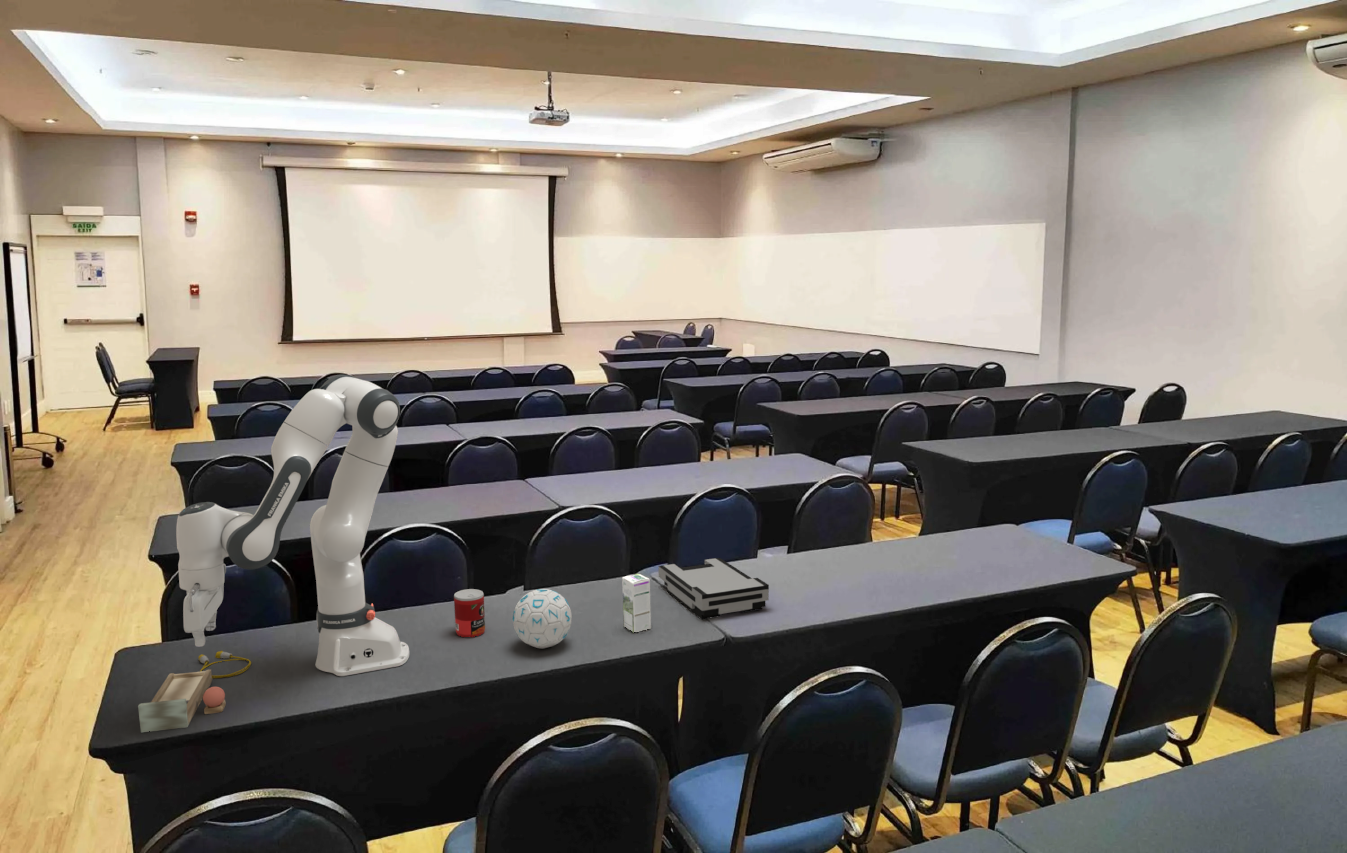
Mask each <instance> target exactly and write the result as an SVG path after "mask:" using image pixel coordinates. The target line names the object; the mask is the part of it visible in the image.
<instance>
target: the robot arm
mask: <svg viewBox="0 0 1347 853" xmlns="http://www.w3.org/2000/svg"><path fill="white" fill-rule="evenodd" d="M400 406H401V405H400V402H399V400H398V398H397V397H396V396H395V395H394V394H393V393H392V392H390V391H389V390H388V389H384V388H382V387H381V386H379V385H377V384H375V383H373V382H371V381H370V380H369V381H368V380H364V379H361V378H357V377H355V376H354V375H353V376H352V375H350V374H349V375H348V374H337V375H333V376H331V377H330V378H328V379H327V380H326V381H325V382H324V383H322V385H321V386H320V387H319V388H314V389H311V390H309V391H308V392H307V393H306V394H305V395H304V396H303V397H302V398H301V399H300V400H299V401H298V402H297V404H295V405H294V407H293V408H292V409H291V411H290V412H289V414H288V415H287V417H286V418H285V420H284V421H283V423H282V424H281V426H280V427H279V428H278V431H277V432H276V435H275V437H274V440H273V442H272V445H271V448H270V452H271V458H272V463H273V478H272V481H271V483H270V486H269V488H268V489H267V491H266V493H265V495H264V497H263V498H262V501H261V502H260V504H259V506H258V508H256V511H255V513H254V514H252V513H250V512H247V511H237V510H232V509H228V508H225V507H222V506H220V505H219V504H217V503H215V502H212V501H211V502H210V501H206V502H198V503H197V502H196V503H195V504H190V505H188V506H187V507H185V508H183V509H182V510H181V511H180V512H179V513H178V515H177V519H176V528H175V529H176V530H175V531H176V534H175V535H176V536H175V537H176V549H177V551H178V554H179V560H178V564H177V566H178V580H179V584H178V585H179V588H180V589H181V590H183V591H186V596H185V597H184V599H183V610H182V612H183V614H182V615H183V616H182V618H183V630H184V632H185V633H187V634H190V633H191V634H192V636H193V639H194V645H195V647H204V646H205V644H206V636H205V631H207V632H208V631H209V632H210V631H214V630H215V629H216V628H217V625H216V622H217V621H216V619H217V614H218V611H217V610H218V608H219V607H220V606H221V604H222V602H223V600H224V587H225V586H224V583H225V574H226V573H227V566H226V564H225V563H224V559H225V558H228V557H229V559H230V560H231V562H232V563H233V564H234V565H235V566H237V567H238V568H241V569H245V570H257V569H261V568H263V567H265V566H267V565H268V564H269V563H271V562H273V560H274V558H276V555H277V554H278V551H279V548H280V543H281V537H282V536H281V535H282V530H283V528H284V526H285V524H286V522H287V520H288V518H289V516H290V515H291V513H292V511H293V509H294V507H295V505H296V503H297V501H298V500H299V498H300V496H301V494H302V492H303V490H304V488H305V486H306V484H307V482H308V480H309V478H310V477H311V475H312V473H313V472H314V469H315V468H316V467H317V464H318V463H319V462H320V460H321V459H322V457H323V456H324V454H325V452H326V450H327V449H328V448H329V445H330V444H331V443H332V441H333V438H334V437H335V434H336V433H337V431H338V430H339V429H340V428H341V427H342V426H344V425H346V424H347V425H350V426H352V432H351V433H352V434H351V436H350V438H349V440H348V442H347V444H346V446H345V449H344V451H343V453H342V457H341V459H340V461H339V464H338V466H337V468H336V471H335V473H334V476H333V479H332V481H331V485H330V491H329V494H328V498H327V501H326V504H325V505H324V504H323V505H322V506H320V507H319V508H317V509H316V511H315V512H314V513H313V515H312V517H311V519H310V523H309V533H310V534H309V535H310V542H311V550H312V558H313V566H314V575H315V580H316V581H315V582H316V595H317V597H316V598H317V605H318V606H317V610H316V615H315V616H316V627H317V631H318V633H319V635H318V646H317V647H318V649H317V653H316V654H317V656H316V659H315V660H316V661H315V663H314V664H315V665H314V666H315V668H316V669H317V670H320V671H322V672H327V673H331V674H334V675H336V676H337V677H346V676H351V675H356V674H361V673H368V672H373V671H379V670H384V669H385V670H386V669H389V668H390V669H391V668H395V667H399V666H402V665H404V664H405V663H406V662H407V661H408V660H409V658H410V647H409V645H408V643H406V642H404V641H401V640H400V637H399V634H398V631H397V630H396V628H395V627H394V626H393V625H390V624H388V623H387V622H385V621H383V620H381V619H379V618H377V617H376V611H375V606H374V604H373V603H371V604H369V603H367V602H366V594H365V580H364V579H365V578H364V571H363V570H364V569H363V565H362V559H361V553H362V550H363V548H364V546H365V543H366V542H365V541H366V536H367V533H368V529H369V526H370V522H371V521H372V520H371V519H372V515H373V513H374V508H375V503H376V500H377V497H378V494H379V491H380V488H381V486H382V484H383V482H384V479H385V477H386V473H387V471H388V469H389V466H390V464H391V461H392V459H393V455H394V452H395V449H396V445H397V439H398V435H399V429H398V426H397V424H398V422H399V421H398V420H399V419H400V414H401V407H400Z"/></svg>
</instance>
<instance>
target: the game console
mask: <svg viewBox="0 0 1347 853" xmlns="http://www.w3.org/2000/svg"><path fill="white" fill-rule="evenodd" d="M657 568H658V570H657V571H658V578H660V579H661V580H662V581H664V586H666V587H667V593H669V594H670V595H671V596H673V597H674V598H675V600H677V601H678V602H679V603H681V605H683V606H684V607H685V608H687V609H688V610H689V611H691V612H692V613H693V614H694V613H695V615H696V616H697V617H698V618H699V617H700V618H699V619H701V620H704V619H705V618H706V619H711V618H710V617H712V618H718V617H722V614H727V613H734V612H743V613H747V612H753V611H759V610H761V611H762V610H763V608H764V607H766V601H769V596H770V595H769V591H770V590H769V588H770V587H769V586H770V585H769V583H767V582H765V581H763V580H761V578H759V577H753V578H752V577H750V576H749V575H748V574H746V573H744V572H743V571H741V570H740V569H738V568H736V567H735V566H734V565H732V564H730V563H729V562H727V561H725V560H724V559H722V558H721V557H715V558H709V559H704V564H698V565H691V566H682V567H679V566H678V565H676V564H675V563H672V564H665V565H658V567H657ZM717 616H718V617H717ZM706 619H705V620H706Z"/></svg>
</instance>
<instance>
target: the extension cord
mask: <svg viewBox="0 0 1347 853" xmlns="http://www.w3.org/2000/svg"><path fill="white" fill-rule="evenodd" d="M208 657H209V656H207V655H205V654H200V655H198V661H199V662H200V663H202V664H203V666H202V668H201V669H200V670H199V672H201V671H202V670H203V671H204V670H205V669H206V668H207V667H209V666H212V665H214V664H219V663H223V662H222V661H225V662H231V661H245V660H246V662H248V661H249V662H248V664H246V666H245V667H244V668H241V669H240V670H237V671H235V672H231V673H228V674H221V675H220V674H219V675H218V674H217V675H215V674H214V675H213V674H212V679H222V678H229V677H235V676H238V675H240V674H242V673H244V672H245V671H247V670H249V668H250V667H251V664H252V661H251V660H250V659H249V658H245V657H241V656H233V653H230V652H227V651H223V650H220V651H219V650H218V651H217V652H216V653H215V656H214V658H216V659H219V661H214V662H211V663H210V660H209V658H208ZM222 658H223V659H222ZM232 658H233V659H232ZM220 659H221V660H220ZM218 662H219V663H218Z"/></svg>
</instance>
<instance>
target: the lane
mask: <svg viewBox="0 0 1347 853" xmlns="http://www.w3.org/2000/svg"><path fill="white" fill-rule="evenodd" d="M212 675H213V673H212V669H210V668H209V669H206V670H203V671H201V672H200V671H192V672H184V673H183V672H182V673H174V672H172V673H169V674H168V675H167V677H166V678H165V680H164V681H163V683H162V684H161V686H160V687H159V689H158V691H157V692H156V693H155V695H154V697H153V698H152V700H151V701H150V702H143V703H139V704H138V706H137V708H138V716H139V717H138V718H139V719H138V720H139V726H140V727H139V728H140V733H147V732H149V731H150V732H157V731H166V730H174V729H183V728H185V729H186V728H188V727H189V725H190V723H191V721H192V719H193V717H194V716H195V714H196V712H197V710H198V709H199V706H200V705H201V703H202V701H203V695H204V693H205V691H206V690H207V689H209V688H210V686H211V684H212V683H213V678H212Z"/></svg>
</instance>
